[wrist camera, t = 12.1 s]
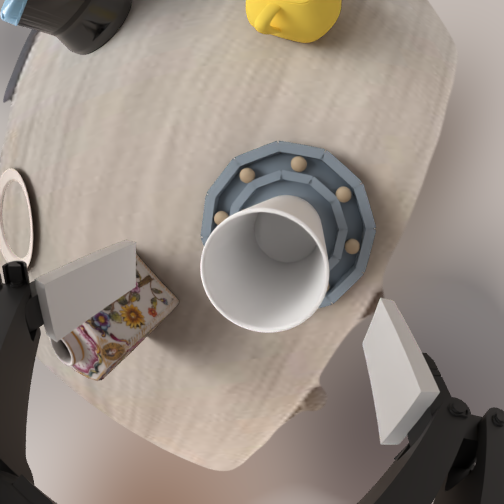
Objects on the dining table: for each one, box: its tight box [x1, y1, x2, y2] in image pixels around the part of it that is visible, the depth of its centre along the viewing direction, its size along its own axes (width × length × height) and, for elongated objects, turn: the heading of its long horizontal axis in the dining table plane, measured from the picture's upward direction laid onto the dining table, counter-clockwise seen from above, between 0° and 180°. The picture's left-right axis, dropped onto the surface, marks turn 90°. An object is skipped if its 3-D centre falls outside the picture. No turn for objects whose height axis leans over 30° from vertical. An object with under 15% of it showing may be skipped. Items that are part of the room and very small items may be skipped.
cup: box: [200, 195, 329, 333], centre depth 24 cm, size 8×8×16 cm
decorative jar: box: [49, 254, 179, 381], centre depth 32 cm, size 12×12×18 cm
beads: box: [214, 156, 360, 292], centre depth 31 cm, size 17×17×2 cm
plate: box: [0, 168, 33, 268], centre depth 45 cm, size 26×26×2 cm
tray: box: [201, 141, 376, 308], centre depth 32 cm, size 20×20×3 cm
